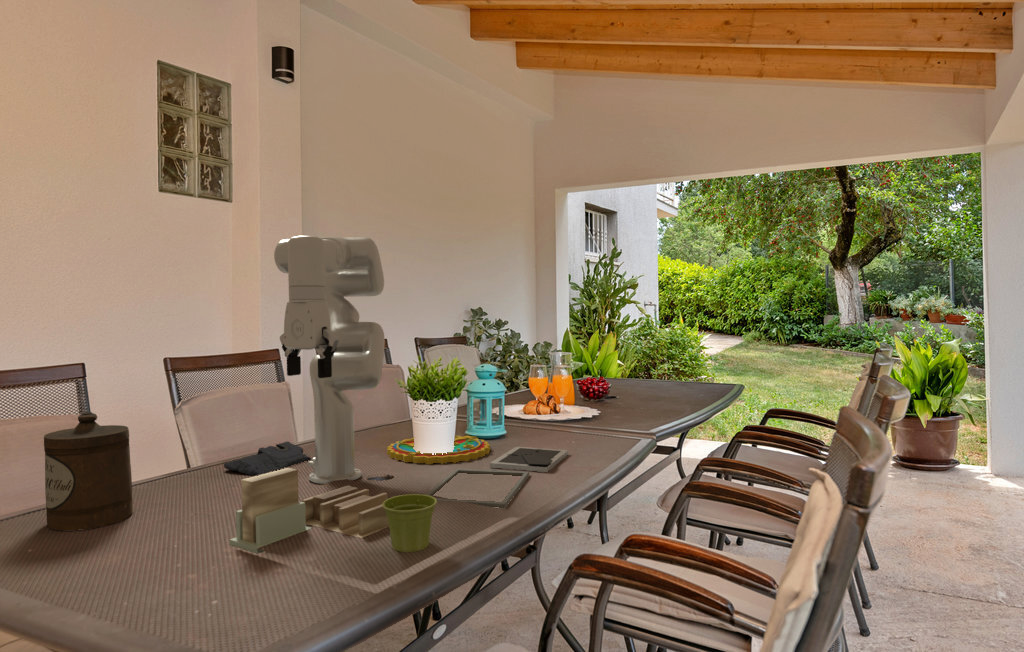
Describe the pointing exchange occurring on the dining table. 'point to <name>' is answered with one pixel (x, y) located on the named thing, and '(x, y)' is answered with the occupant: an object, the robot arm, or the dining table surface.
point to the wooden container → (87, 475)
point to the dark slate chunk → (269, 459)
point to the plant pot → (409, 521)
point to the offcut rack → (350, 514)
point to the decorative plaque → (462, 452)
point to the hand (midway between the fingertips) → (309, 376)
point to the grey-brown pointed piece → (529, 459)
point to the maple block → (266, 497)
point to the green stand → (272, 527)
